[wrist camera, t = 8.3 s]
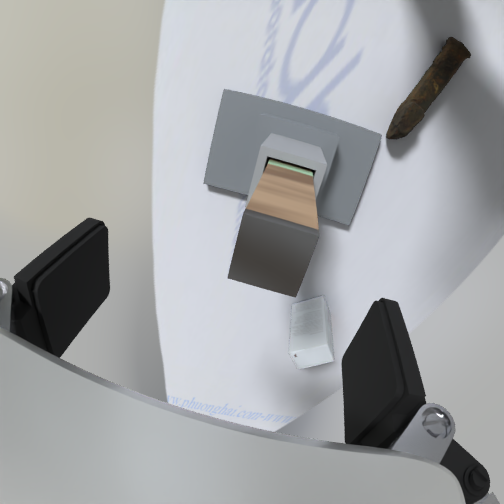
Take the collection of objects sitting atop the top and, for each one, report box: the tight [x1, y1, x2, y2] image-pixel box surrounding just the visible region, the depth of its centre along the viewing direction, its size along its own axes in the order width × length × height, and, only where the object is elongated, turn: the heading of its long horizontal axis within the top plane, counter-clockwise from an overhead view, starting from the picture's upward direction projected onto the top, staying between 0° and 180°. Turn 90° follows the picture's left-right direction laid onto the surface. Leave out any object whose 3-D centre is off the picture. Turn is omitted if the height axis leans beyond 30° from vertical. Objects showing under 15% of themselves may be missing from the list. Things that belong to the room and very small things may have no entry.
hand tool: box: [386, 37, 471, 139], centre depth 33 cm, size 19×4×5 cm, turn 144°
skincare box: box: [288, 295, 334, 370], centre depth 49 cm, size 6×4×12 cm
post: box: [228, 157, 319, 297], centre depth 24 cm, size 4×4×17 cm
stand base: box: [203, 89, 382, 225], centre depth 36 cm, size 14×22×16 cm, turn 76°
